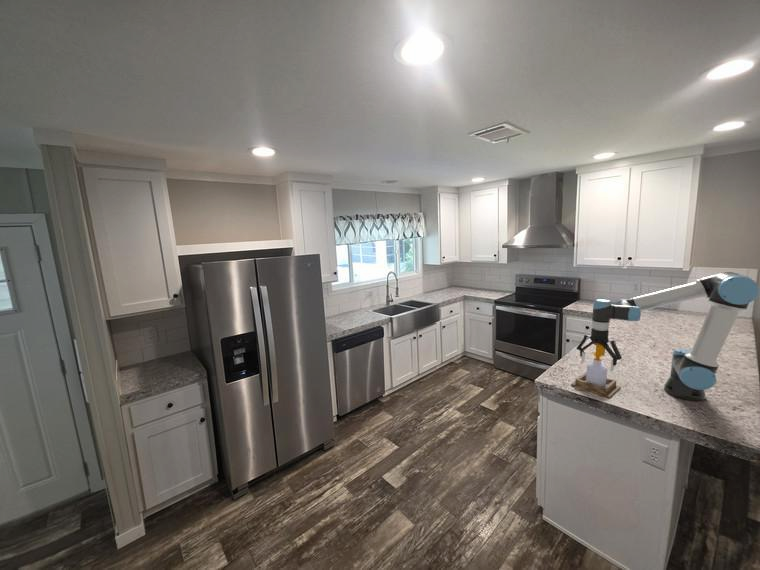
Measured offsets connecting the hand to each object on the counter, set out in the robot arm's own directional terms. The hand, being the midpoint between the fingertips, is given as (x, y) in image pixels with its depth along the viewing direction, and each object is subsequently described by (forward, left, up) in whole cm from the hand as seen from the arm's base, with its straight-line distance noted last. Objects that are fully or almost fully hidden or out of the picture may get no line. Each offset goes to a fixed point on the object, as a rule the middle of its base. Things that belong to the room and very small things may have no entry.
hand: (597, 366), depth 169 cm
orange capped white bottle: (0, 0, -11) cm, 11 cm away
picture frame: (0, 0, -12) cm, 12 cm away
